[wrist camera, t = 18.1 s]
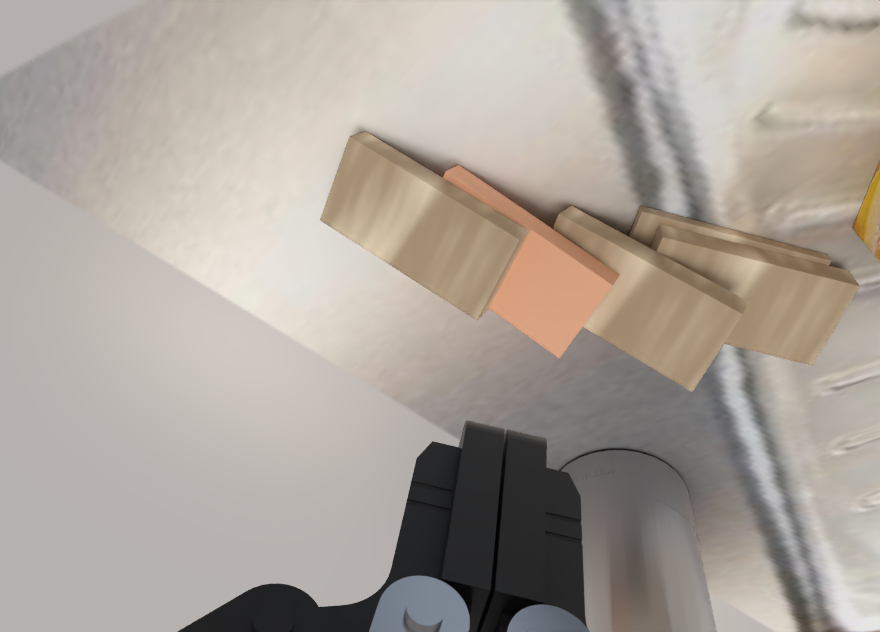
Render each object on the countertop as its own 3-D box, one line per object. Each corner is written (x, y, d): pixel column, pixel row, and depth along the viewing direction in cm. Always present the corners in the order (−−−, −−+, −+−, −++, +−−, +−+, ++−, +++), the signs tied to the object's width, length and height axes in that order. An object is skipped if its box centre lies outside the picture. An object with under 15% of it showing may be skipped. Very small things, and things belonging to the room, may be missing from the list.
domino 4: (639, 199, 40) (822, 247, 40) (607, 278, 42) (778, 323, 42) (641, 211, 38) (831, 261, 38) (609, 292, 41) (785, 339, 41)
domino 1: (365, 131, 39) (530, 230, 37) (336, 212, 41) (488, 309, 39) (349, 136, 37) (519, 239, 35) (320, 220, 40) (477, 320, 38)
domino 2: (405, 248, 40) (559, 358, 39) (445, 170, 38) (612, 285, 36) (418, 240, 42) (567, 346, 40) (458, 164, 39) (620, 275, 37)
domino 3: (571, 205, 39) (749, 302, 36) (537, 282, 42) (700, 378, 39) (559, 213, 38) (742, 314, 35) (525, 292, 41) (692, 391, 38)
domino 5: (659, 223, 38) (849, 270, 38) (626, 304, 41) (804, 348, 41) (662, 237, 37) (859, 286, 37) (628, 319, 40) (812, 365, 40)
